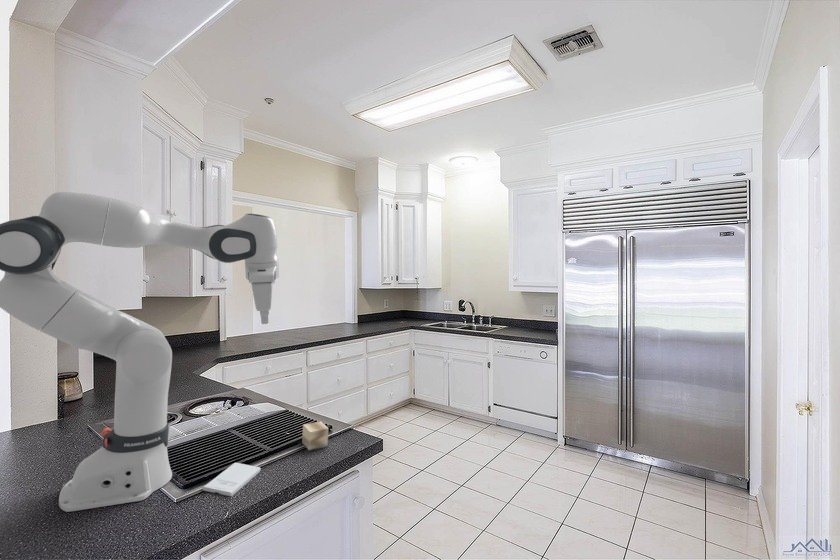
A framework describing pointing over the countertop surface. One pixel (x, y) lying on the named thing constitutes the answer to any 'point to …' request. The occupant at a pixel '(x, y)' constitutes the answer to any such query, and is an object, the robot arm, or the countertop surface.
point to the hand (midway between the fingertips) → (265, 319)
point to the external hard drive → (232, 479)
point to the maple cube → (315, 435)
